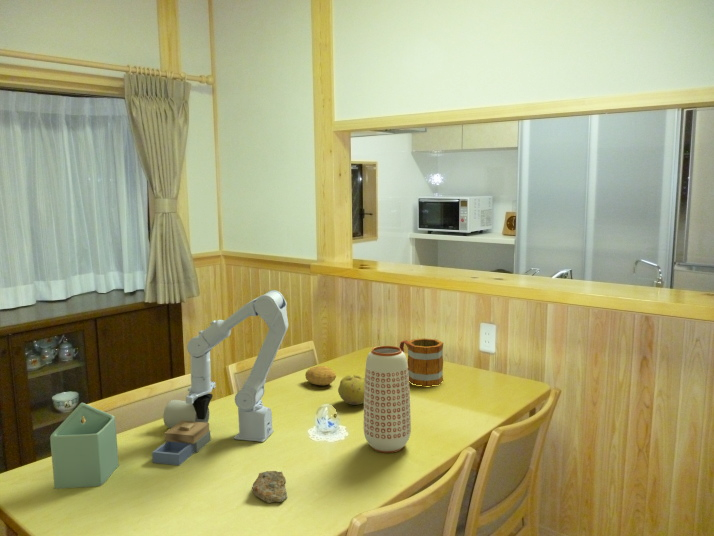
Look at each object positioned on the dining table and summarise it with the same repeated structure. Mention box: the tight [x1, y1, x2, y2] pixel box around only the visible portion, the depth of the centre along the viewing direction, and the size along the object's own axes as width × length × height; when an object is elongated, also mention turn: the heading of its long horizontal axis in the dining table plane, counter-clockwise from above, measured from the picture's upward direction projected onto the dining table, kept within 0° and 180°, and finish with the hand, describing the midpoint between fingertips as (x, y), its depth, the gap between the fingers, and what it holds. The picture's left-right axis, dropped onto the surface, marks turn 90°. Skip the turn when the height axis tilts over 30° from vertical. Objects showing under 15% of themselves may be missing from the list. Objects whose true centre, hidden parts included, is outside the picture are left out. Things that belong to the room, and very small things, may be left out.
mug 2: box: [399, 338, 444, 386], centre depth 222 cm, size 20×14×15 cm
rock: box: [251, 470, 288, 504], centre depth 140 cm, size 9×6×10 cm
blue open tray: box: [151, 441, 196, 466], centre depth 160 cm, size 8×8×3 cm
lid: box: [164, 421, 210, 444], centre depth 167 cm, size 9×9×3 cm
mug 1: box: [162, 399, 210, 429], centre depth 181 cm, size 12×8×11 cm
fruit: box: [337, 373, 365, 405], centre depth 198 cm, size 11×12×10 cm
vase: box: [363, 345, 412, 454], centre depth 164 cm, size 13×13×28 cm
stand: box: [194, 430, 212, 453], centre depth 168 cm, size 10×8×3 cm
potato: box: [305, 365, 337, 387], centre depth 218 cm, size 9×13×7 cm
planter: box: [49, 402, 120, 490], centre depth 147 cm, size 16×8×20 cm, turn 138°
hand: (201, 418), depth 176 cm, fingers closed, pressing on mug 1
